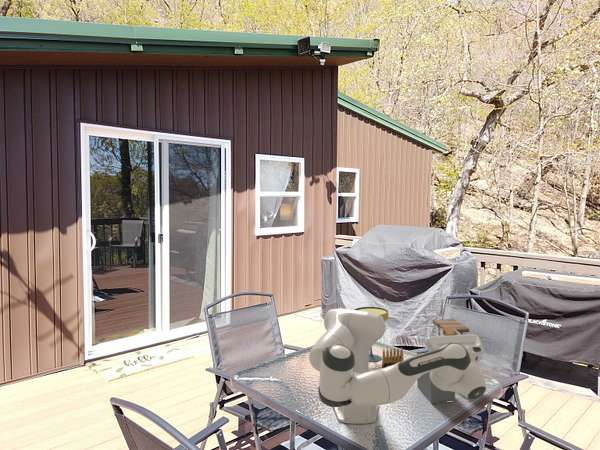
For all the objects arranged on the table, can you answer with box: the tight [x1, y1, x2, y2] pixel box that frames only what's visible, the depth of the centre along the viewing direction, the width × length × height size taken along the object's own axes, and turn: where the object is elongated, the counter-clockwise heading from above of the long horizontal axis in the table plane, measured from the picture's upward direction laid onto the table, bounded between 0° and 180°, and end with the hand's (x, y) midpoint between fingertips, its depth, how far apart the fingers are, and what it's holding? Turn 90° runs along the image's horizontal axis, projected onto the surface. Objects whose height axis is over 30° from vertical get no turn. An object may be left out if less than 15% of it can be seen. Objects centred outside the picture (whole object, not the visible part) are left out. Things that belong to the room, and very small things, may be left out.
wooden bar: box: [427, 327, 454, 352], centre depth 186 cm, size 24×3×3 cm
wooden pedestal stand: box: [432, 318, 470, 336], centre depth 206 cm, size 16×12×26 cm
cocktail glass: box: [354, 306, 389, 363], centre depth 237 cm, size 18×18×25 cm
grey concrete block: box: [416, 353, 456, 404], centre depth 193 cm, size 16×10×15 cm, turn 5°
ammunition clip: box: [381, 347, 404, 369], centre depth 217 cm, size 11×2×12 cm, turn 99°
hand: (446, 329), depth 179 cm, fingers closed on wooden bar, 3 cm apart
